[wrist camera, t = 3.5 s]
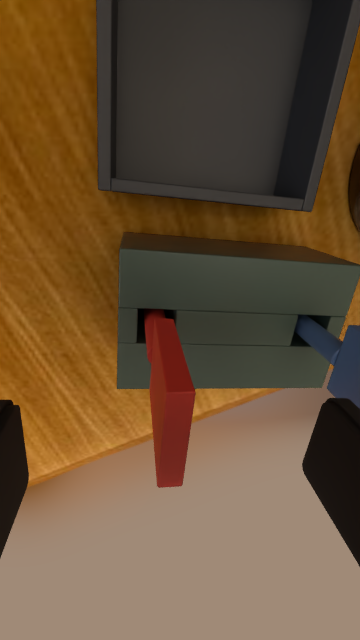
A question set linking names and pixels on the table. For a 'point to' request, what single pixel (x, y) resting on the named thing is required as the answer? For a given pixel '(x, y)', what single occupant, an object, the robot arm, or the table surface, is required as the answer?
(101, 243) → the table surface
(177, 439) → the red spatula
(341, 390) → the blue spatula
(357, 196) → the jar
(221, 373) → the caddy
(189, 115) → the bin
